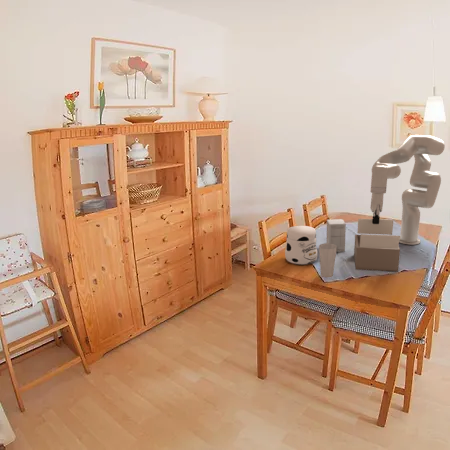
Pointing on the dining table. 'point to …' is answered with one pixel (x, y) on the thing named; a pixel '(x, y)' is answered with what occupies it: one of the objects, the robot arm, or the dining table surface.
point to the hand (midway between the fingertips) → (375, 223)
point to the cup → (327, 259)
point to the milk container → (301, 245)
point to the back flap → (375, 226)
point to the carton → (375, 258)
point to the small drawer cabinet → (336, 233)
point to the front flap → (379, 241)
